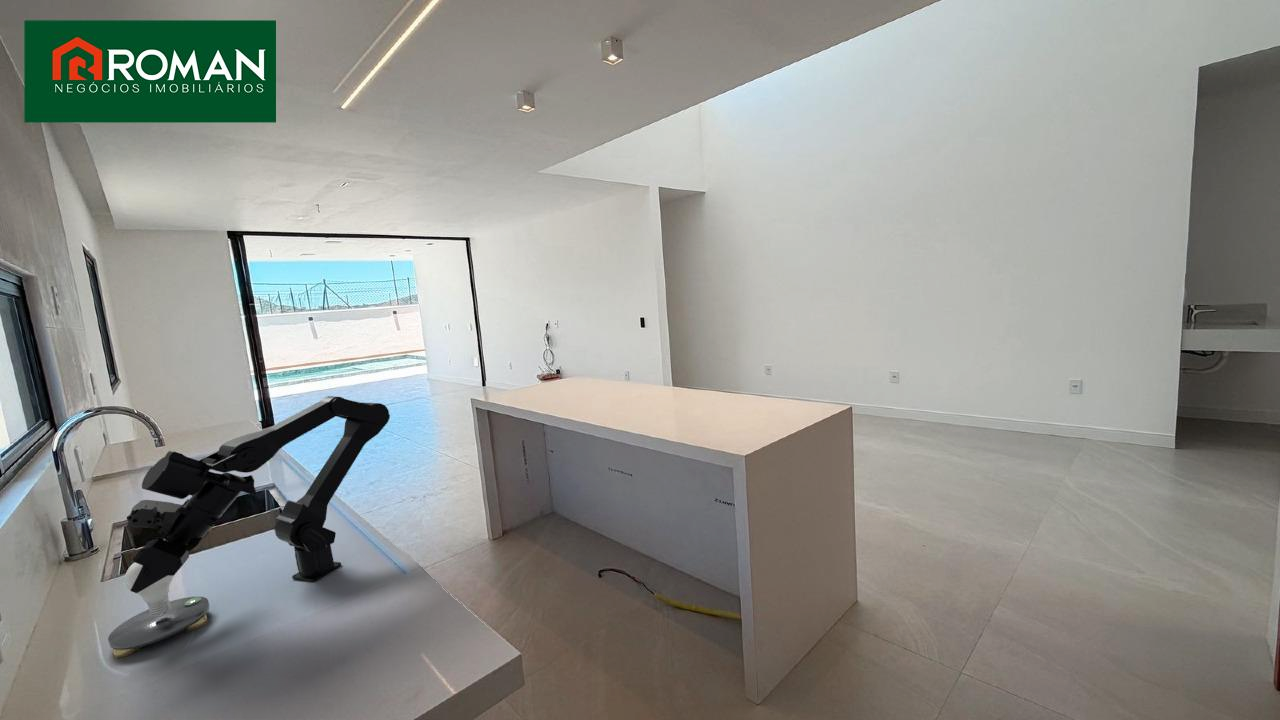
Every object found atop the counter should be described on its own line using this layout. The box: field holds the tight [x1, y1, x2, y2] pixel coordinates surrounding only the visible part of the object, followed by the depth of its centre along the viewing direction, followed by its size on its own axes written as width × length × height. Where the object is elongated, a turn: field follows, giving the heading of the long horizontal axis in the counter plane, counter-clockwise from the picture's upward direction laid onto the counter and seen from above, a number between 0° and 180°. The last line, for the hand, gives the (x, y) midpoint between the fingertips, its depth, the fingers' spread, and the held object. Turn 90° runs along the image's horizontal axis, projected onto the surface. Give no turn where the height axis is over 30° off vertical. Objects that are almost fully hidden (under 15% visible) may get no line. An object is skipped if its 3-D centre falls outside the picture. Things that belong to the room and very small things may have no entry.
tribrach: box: [107, 596, 210, 659], centre depth 90 cm, size 13×13×3 cm
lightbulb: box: [124, 561, 175, 616], centre depth 89 cm, size 6×6×11 cm
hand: (142, 582), depth 88 cm, fingers closed on lightbulb, 6 cm apart
